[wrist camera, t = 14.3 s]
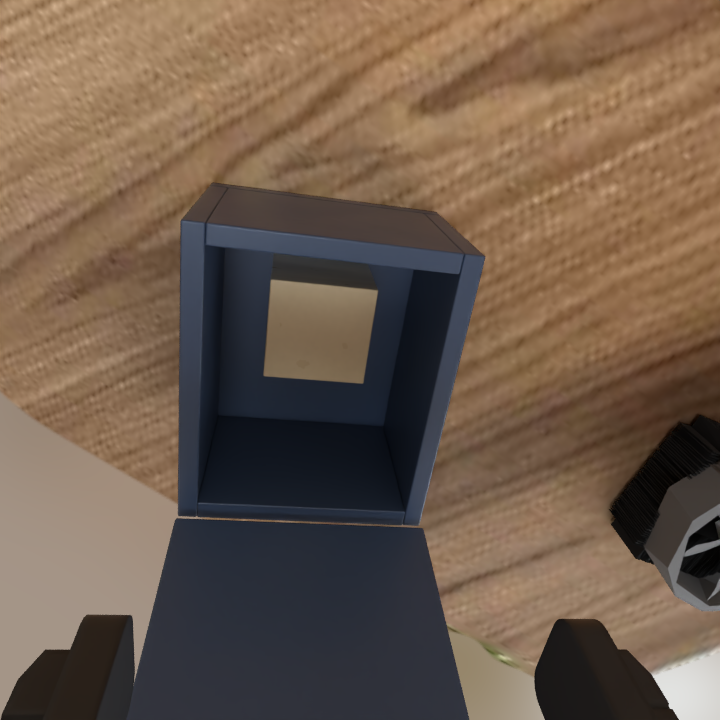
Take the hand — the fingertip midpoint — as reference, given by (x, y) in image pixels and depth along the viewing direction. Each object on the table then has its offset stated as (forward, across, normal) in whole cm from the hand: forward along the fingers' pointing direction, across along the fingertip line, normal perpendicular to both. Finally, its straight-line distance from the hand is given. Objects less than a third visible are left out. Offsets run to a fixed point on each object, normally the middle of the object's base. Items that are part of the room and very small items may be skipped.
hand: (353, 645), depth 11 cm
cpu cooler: (+20, +26, -10) cm, 34 cm away
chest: (+20, 0, -2) cm, 20 cm away
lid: (+5, 0, -8) cm, 9 cm away
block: (+19, 0, 0) cm, 19 cm away
